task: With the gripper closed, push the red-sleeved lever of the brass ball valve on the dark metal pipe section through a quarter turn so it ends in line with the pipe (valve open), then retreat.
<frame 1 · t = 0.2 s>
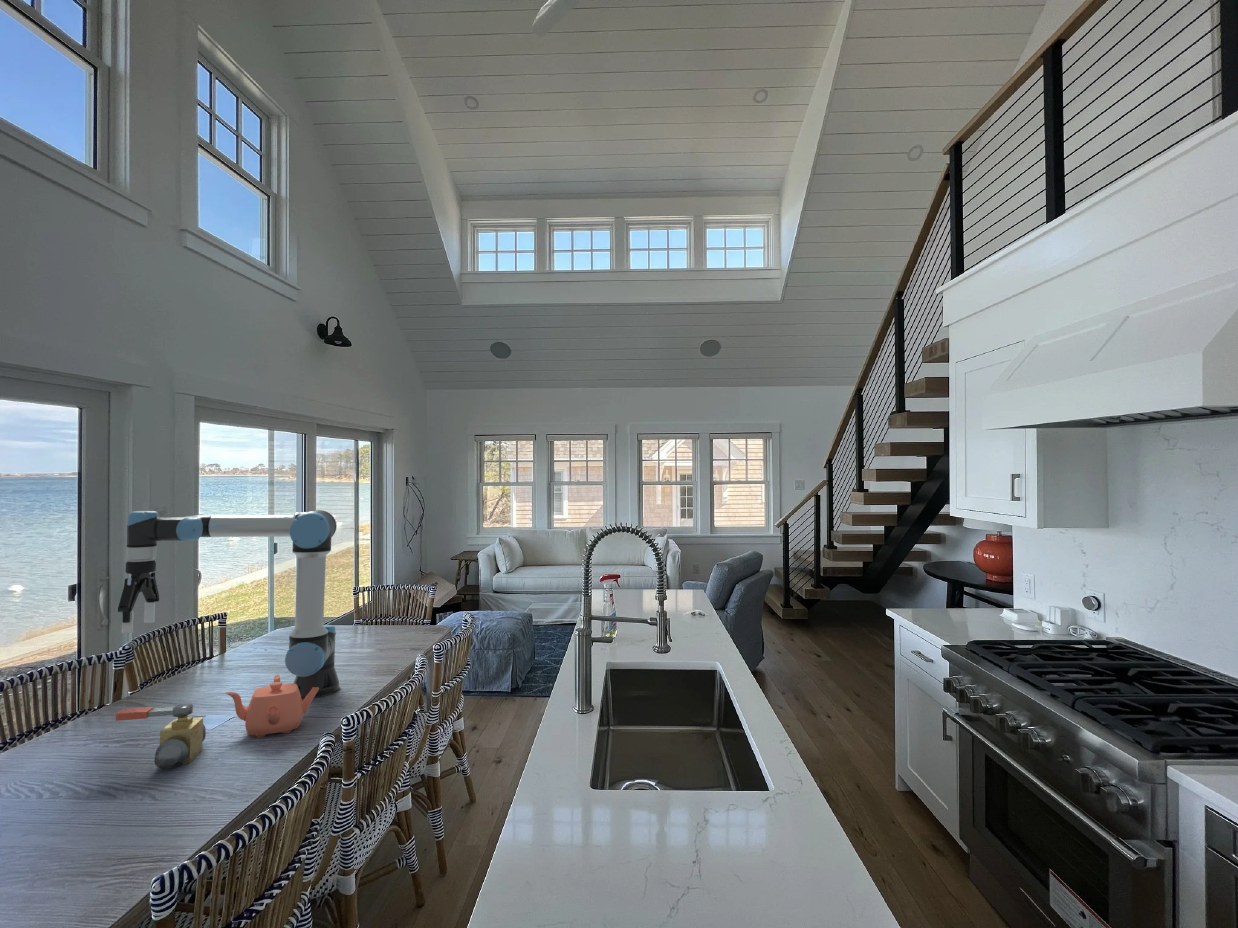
hand: (138, 627, 188), 28 cm above the table, fingers open, 13 cm apart
teapot: (272, 729, 180), on the table
lever: (156, 711, 160), point 13 cm above the table, hinge at 0.0°
valve body: (181, 757, 161), on the table
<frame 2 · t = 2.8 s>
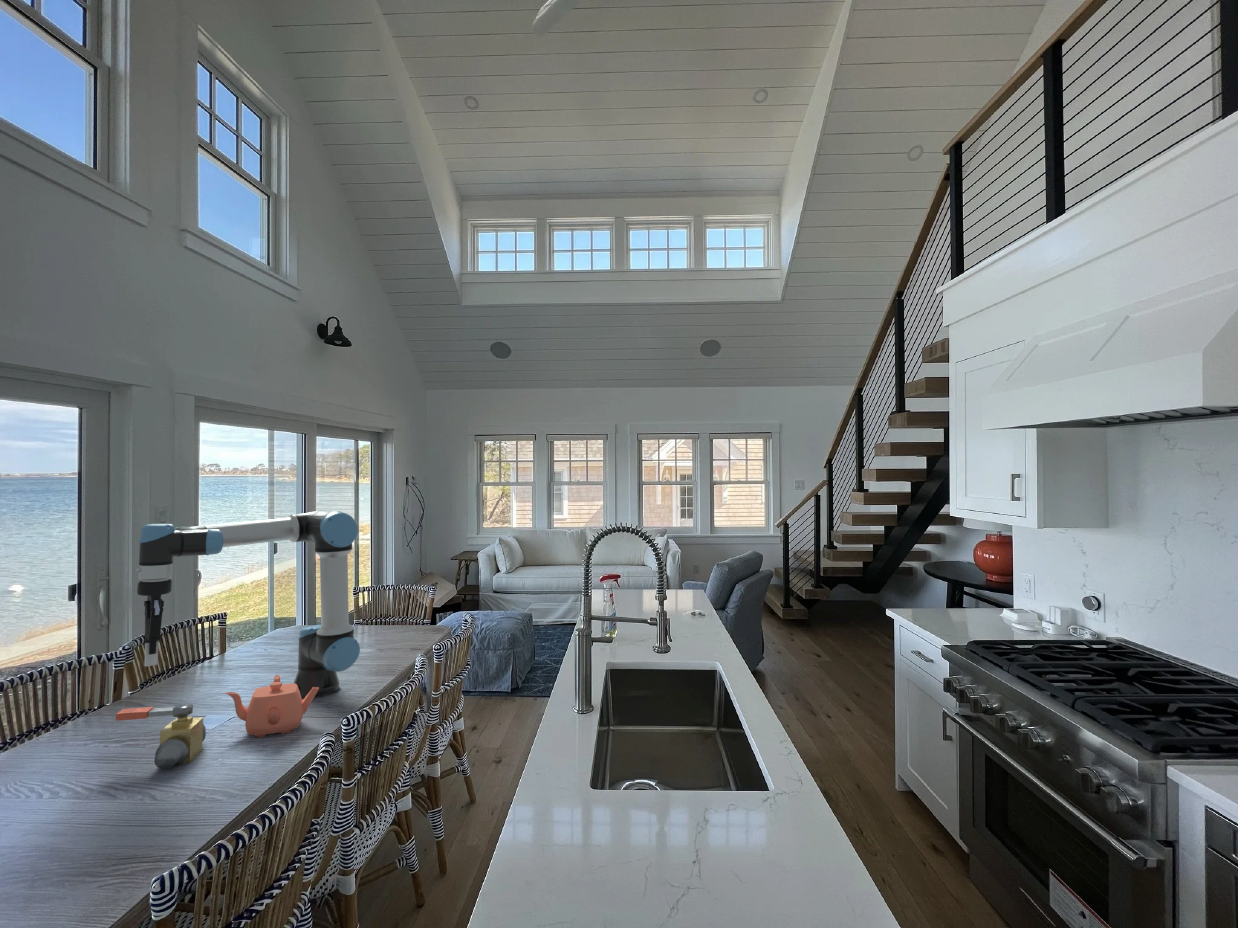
hand: (150, 664, 166), 23 cm above the table, fingers closed
nothing on the table moved.
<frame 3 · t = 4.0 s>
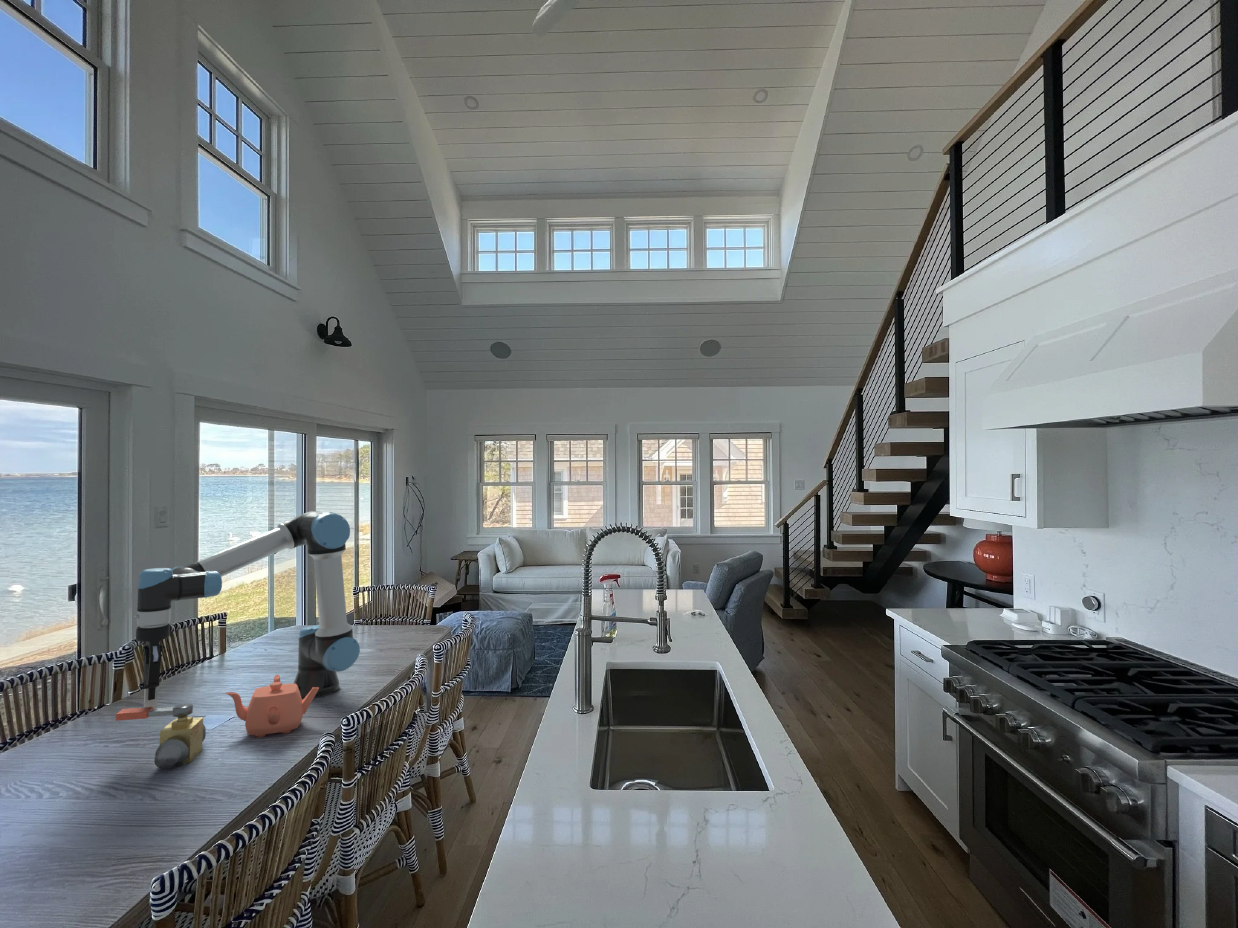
hand: (150, 710, 166), 11 cm above the table, fingers closed
nothing on the table moved.
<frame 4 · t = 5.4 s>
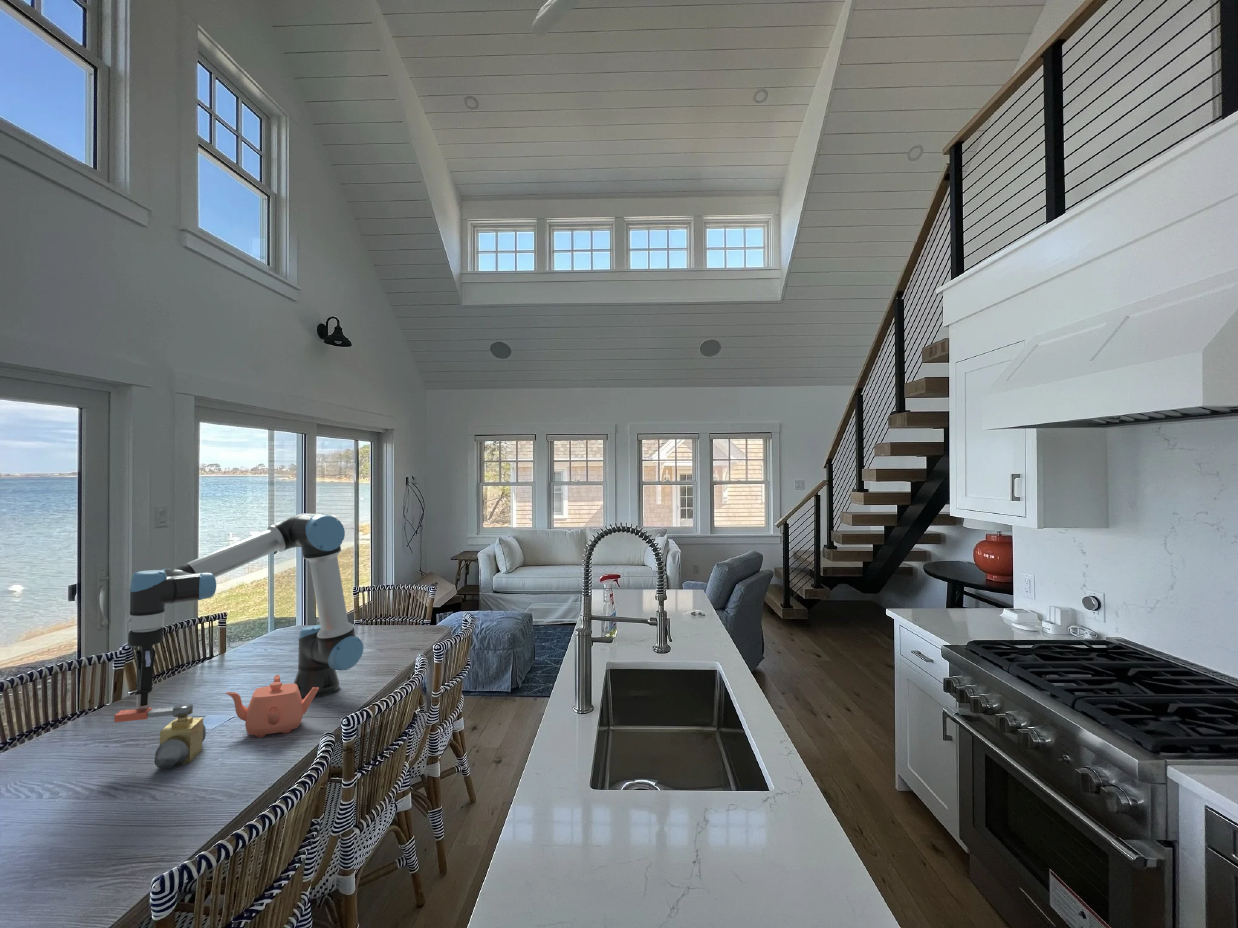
hand: (142, 716, 161), 11 cm above the table, fingers closed
lever: (155, 712, 160), point 13 cm above the table, hinge at 4.5°, touching gripper
everything else where it was.
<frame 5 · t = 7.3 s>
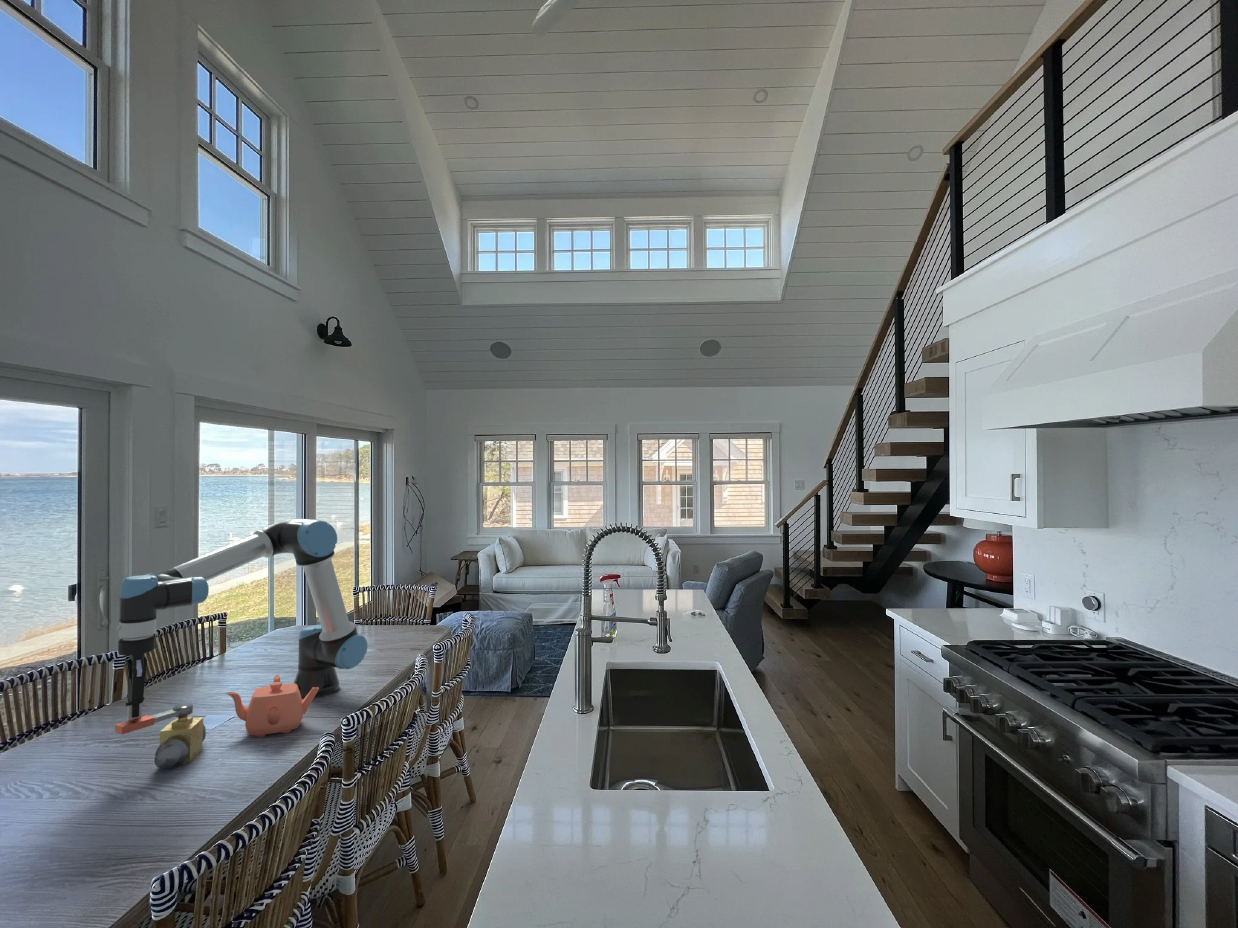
hand: (134, 728, 154), 11 cm above the table, fingers closed
lever: (156, 717, 156), point 13 cm above the table, hinge at 47.7°, touching gripper
everything else where it was.
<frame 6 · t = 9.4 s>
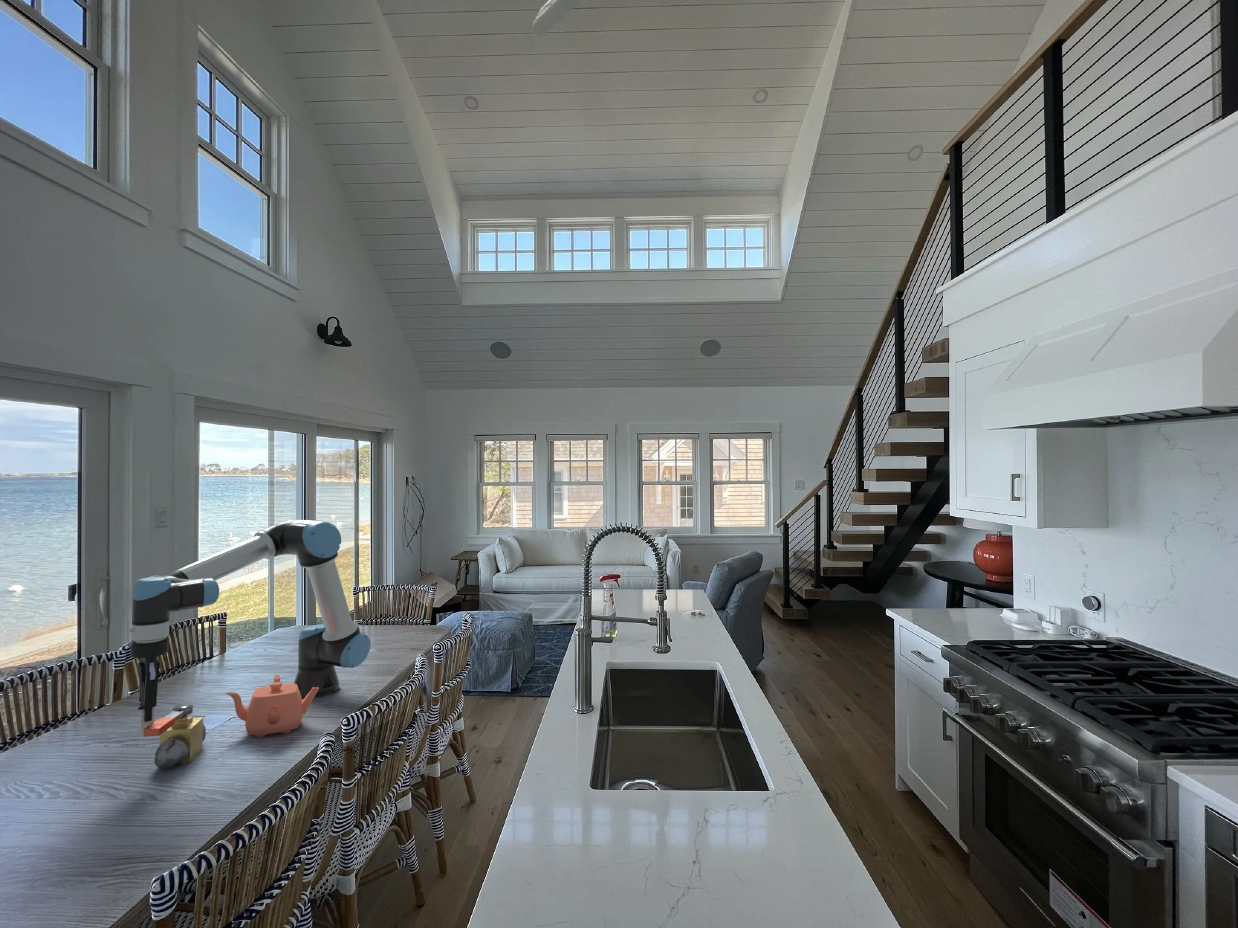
hand: (146, 732, 151), 11 cm above the table, fingers closed
lever: (170, 719, 156), point 13 cm above the table, hinge at 85.5°
everything else where it was.
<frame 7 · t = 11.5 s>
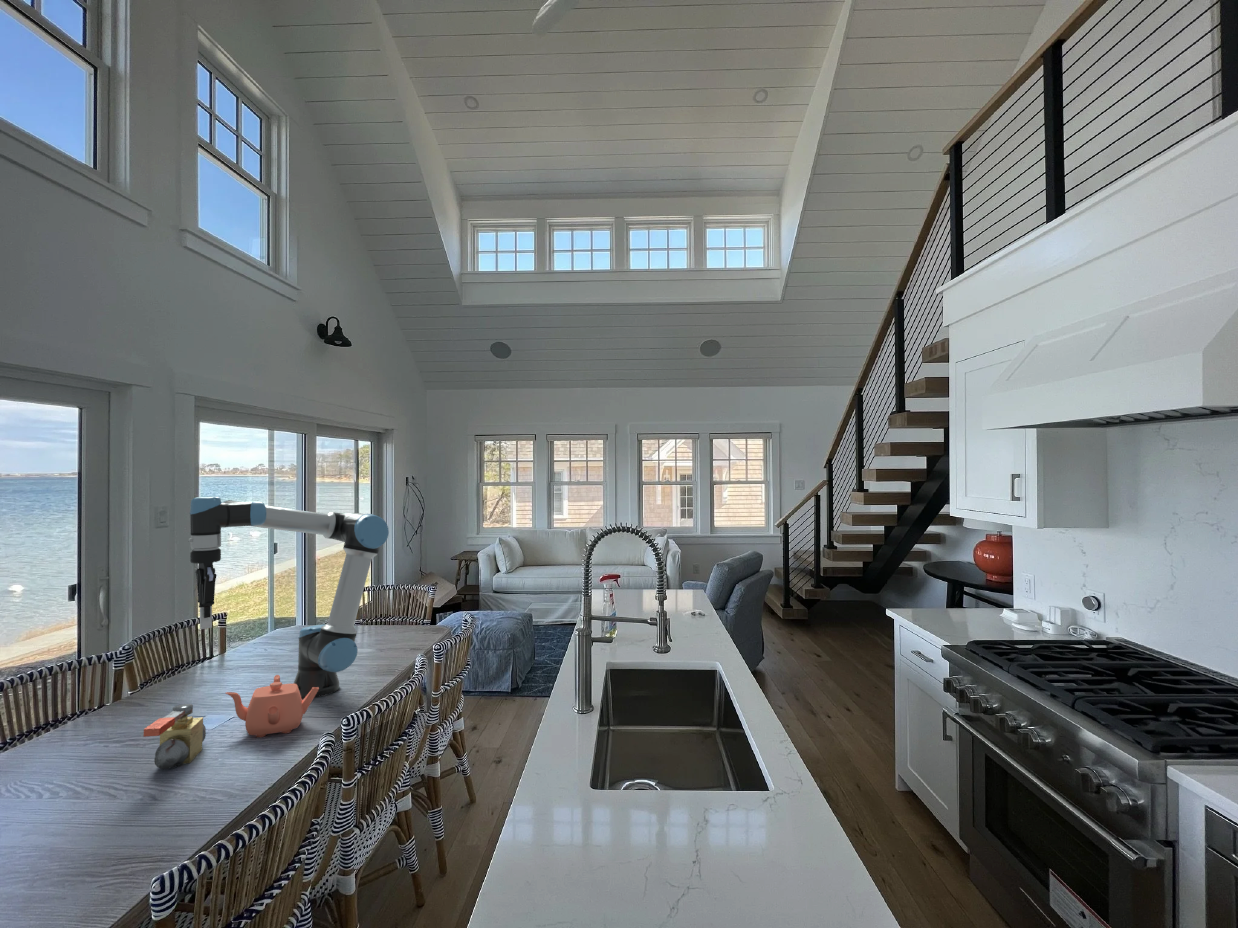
hand: (205, 627, 178), 31 cm above the table, fingers closed
nothing on the table moved.
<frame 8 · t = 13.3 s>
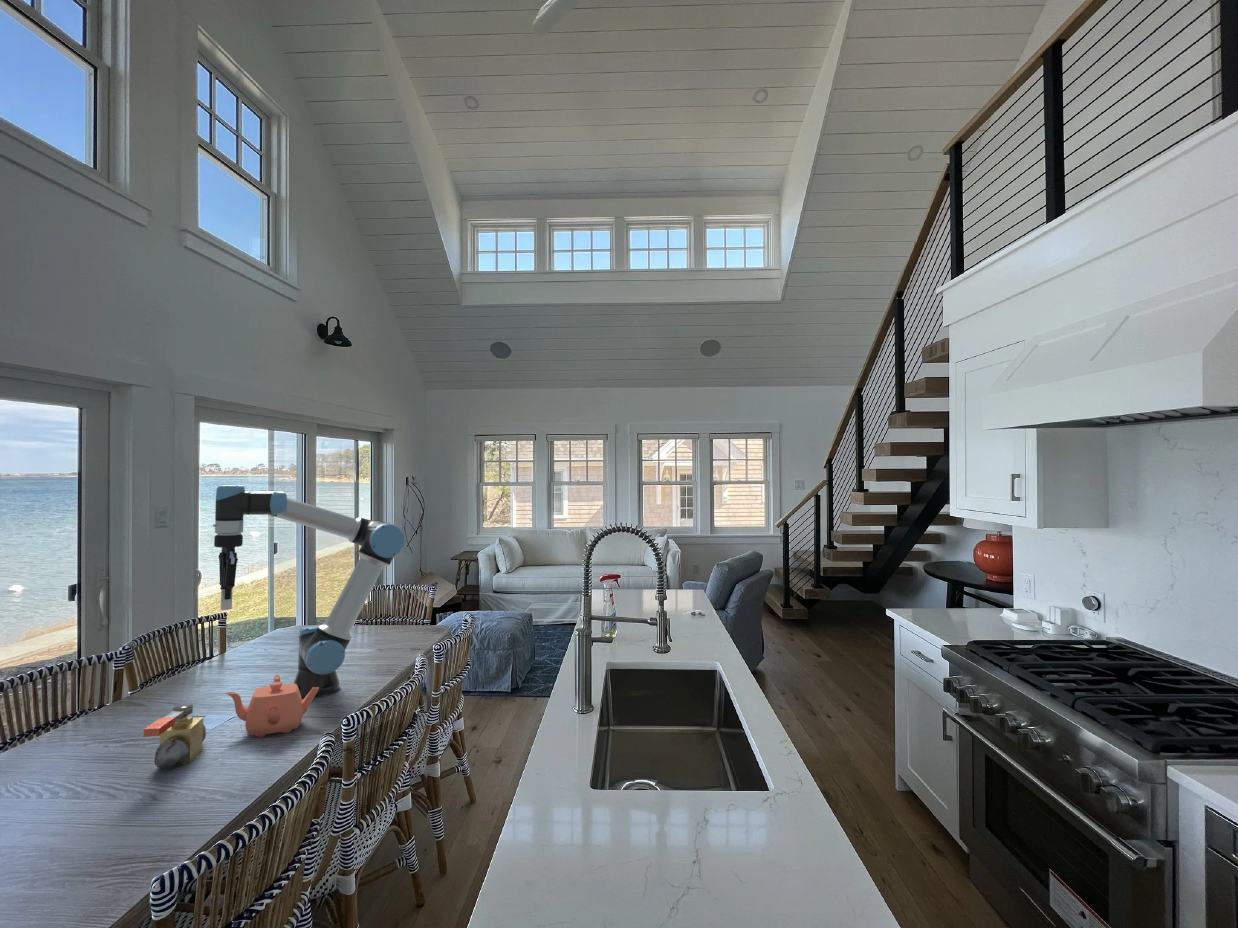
hand: (226, 609, 188), 34 cm above the table, fingers closed
nothing on the table moved.
at the end: lever at +86° (first picture: +0°) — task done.
